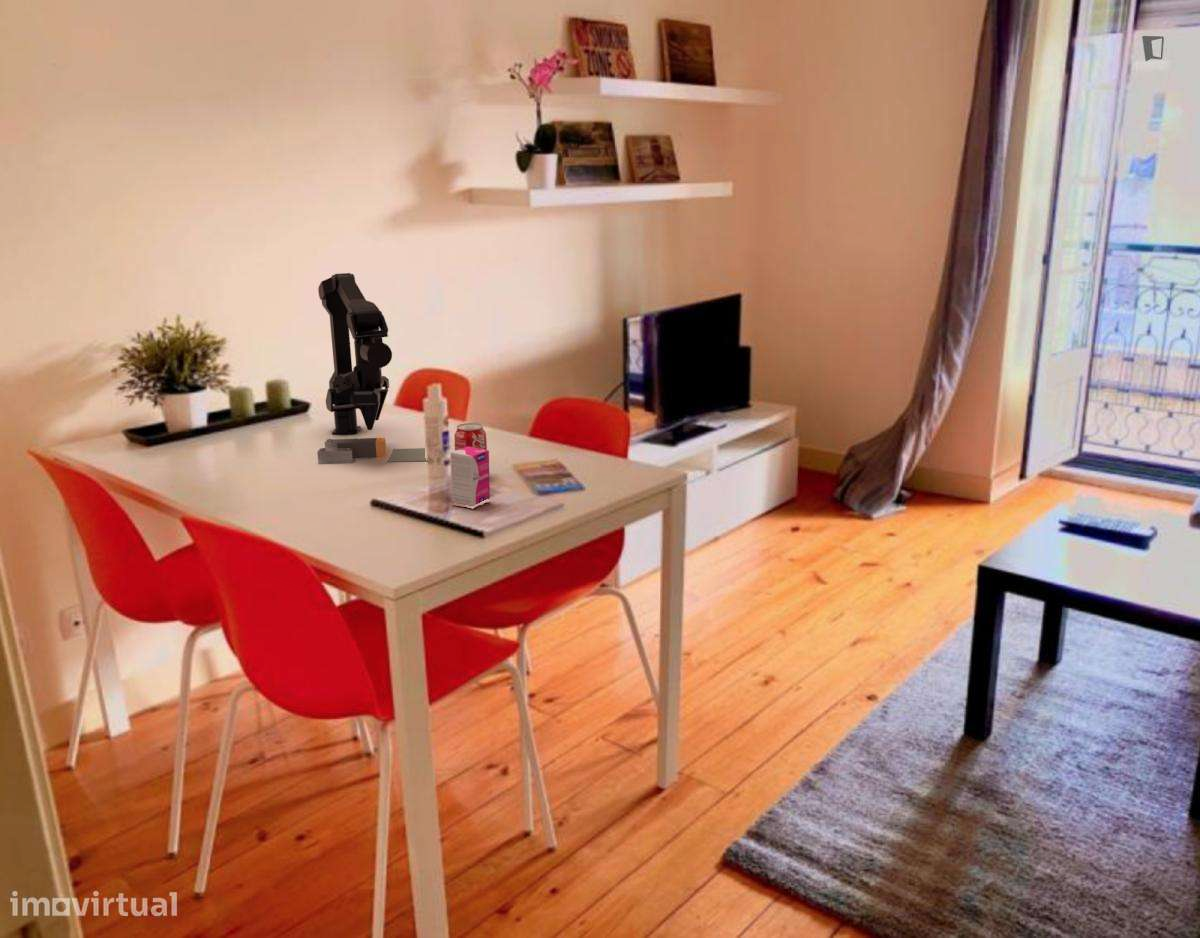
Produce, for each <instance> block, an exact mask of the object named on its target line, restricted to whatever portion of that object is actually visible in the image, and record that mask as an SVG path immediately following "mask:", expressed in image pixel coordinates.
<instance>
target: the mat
mask: <svg viewBox="0 0 1200 938" xmlns="http://www.w3.org/2000/svg"><path fill="white" fill-rule="evenodd" d="M425 448H426V447H421V448H419V447H417V448H416V447H415V448H414V447H413V448H410V447H409V448H393V449H392V451H391V453H390V454H389V457H388V459H387V460H386V463H408V462H409V463H412V462H413V463H414V462H416V463H417V462H419V463H421V462H427V461H426V458H425Z"/></svg>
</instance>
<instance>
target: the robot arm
mask: <svg viewBox="0 0 1200 938" xmlns="http://www.w3.org/2000/svg"><path fill="white" fill-rule="evenodd" d="M317 289H318V291H317V292H318V296H319V300H320V301H321V306H322V307H323V309H324V310H325V311H326V312H327V314H328V315H329V325H330V336H331V348H332V358H333V359H332V360H333V369H334V370H333V371H334V372H333V373H332V375H331V376H330V379H329V382H328V389H327V393H326V397H325V405H326V409H327V410H328V412H330V413H333V418H334V429H333V430H332V431H331V434H332V435H348V434H349V435H353V434H355V435H356V434H358V432H359V431H360V430H361V428H362V427H361V425H358V417H357V409H358V410H359V411H360V413H361V415H362V417H363V421H364V423H365V426H366V429H367V430H368V431H372V430H373V428H374V426H375V425H374V424H375V423H376V422H375V421H378V420H379V419H380V417H381V413H382V410H383V407H384V404H385V402H386V398H387V395H388V392H389V388H390V379H389V378H388V377H387V376H385V375H383V373H382V368H385V367H386V366H388V365H389V364H390V362H391V361H392V357H393V352H392V350H391V347H390V346H389V345H388V344H386V343H385V342H383V341H384V340H383V338H388V337H389V334H388V333H389V327H388V325H387V322H386V319H385V315H383V312H382V310H380V309H379V307H378V306H377V305H376V304H375V303H374V302H373V301H370V300H367V299H366V297H365V296H364V295H363V293H362V291H361V289H360V287H359V286H358V284H357V283H356V278H355V275H354V274H353V273H351V272H348V273H347V272H346V273H345V272H343V273H335V274H332V275H331V276H330V277H329V278H326V279H324V280H322V281H321V282H320V284H319V285H318V288H317ZM350 335H351V336H352V339H353V340H354V341H353V345H354V356H355V366H353V363H352V361H353V360H352V349H351V340H350V338H351V337H350Z"/></svg>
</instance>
